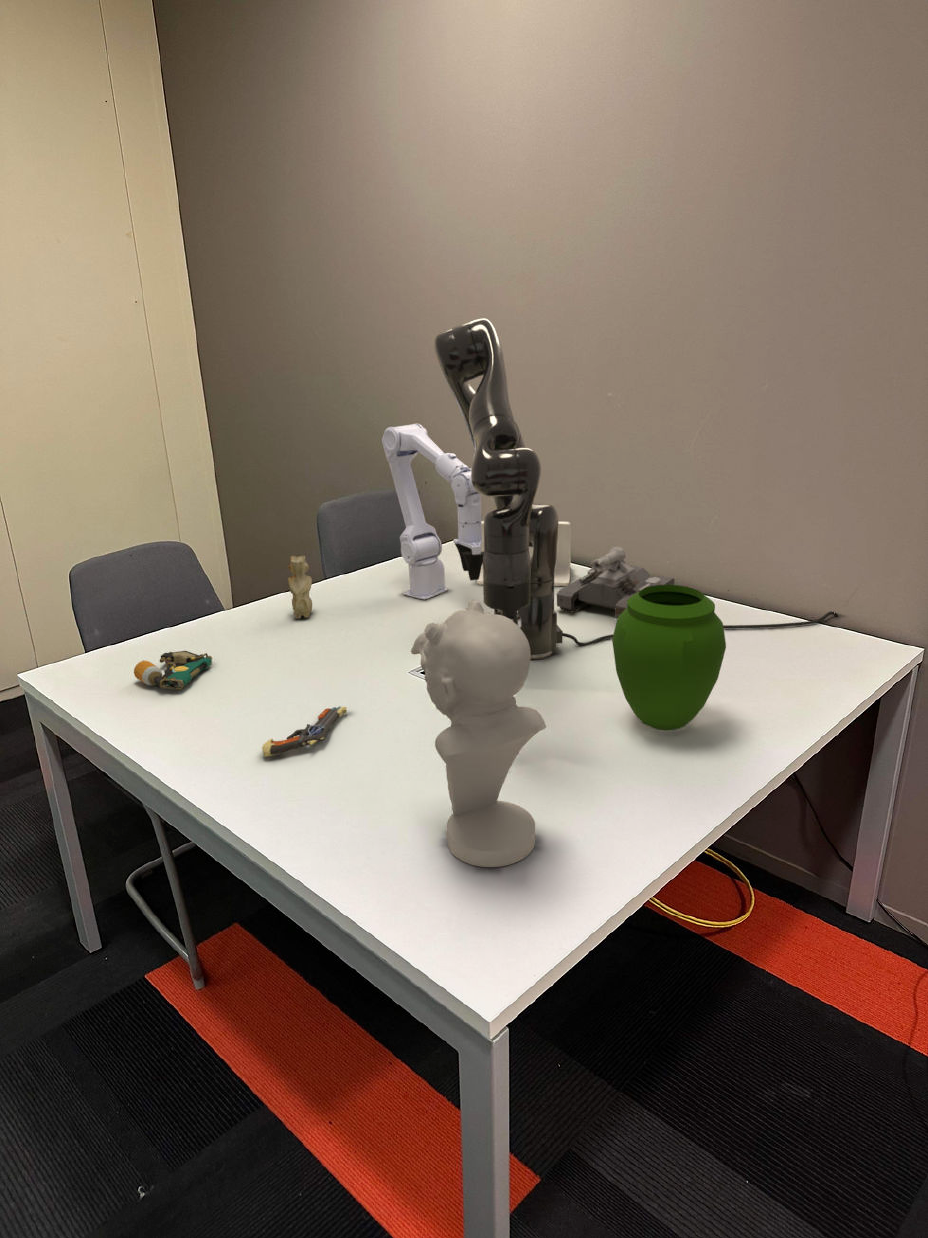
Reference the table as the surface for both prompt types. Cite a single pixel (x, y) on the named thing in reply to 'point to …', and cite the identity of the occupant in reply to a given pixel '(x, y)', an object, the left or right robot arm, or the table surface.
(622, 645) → the vase
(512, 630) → the bust sculpture
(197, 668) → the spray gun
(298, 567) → the sculpture
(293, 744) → the toy gun
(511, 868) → the table surface
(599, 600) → the toy
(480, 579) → the tablet stand
